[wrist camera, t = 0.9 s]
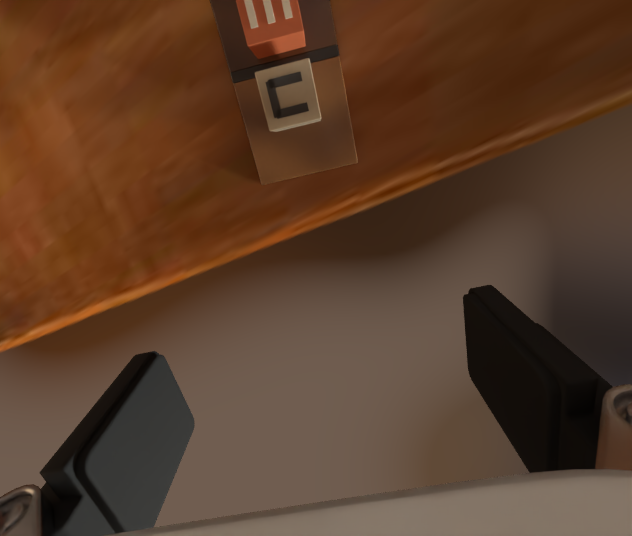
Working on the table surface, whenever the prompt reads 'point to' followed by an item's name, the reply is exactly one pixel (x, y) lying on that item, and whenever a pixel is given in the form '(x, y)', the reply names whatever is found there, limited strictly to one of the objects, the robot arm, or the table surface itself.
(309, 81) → the tile
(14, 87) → the table surface
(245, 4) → the three-striped orange cube
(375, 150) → the table surface
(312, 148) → the letter board
